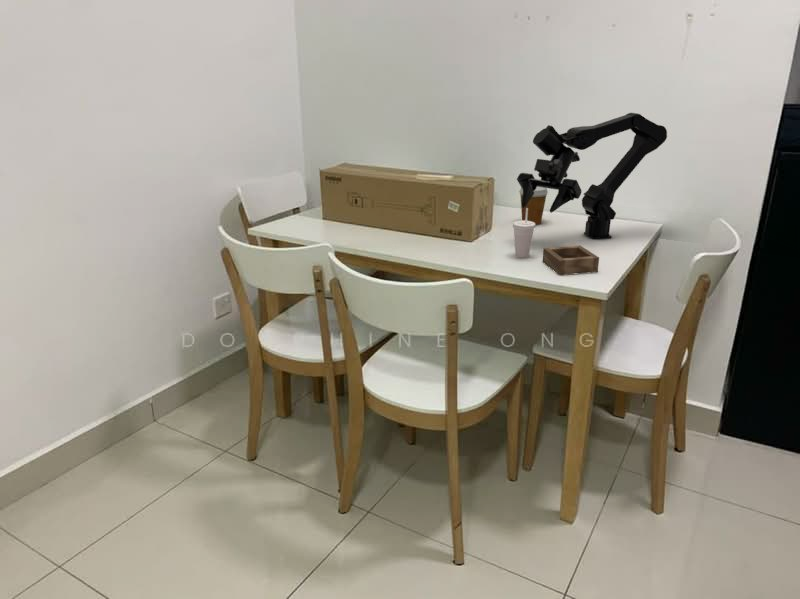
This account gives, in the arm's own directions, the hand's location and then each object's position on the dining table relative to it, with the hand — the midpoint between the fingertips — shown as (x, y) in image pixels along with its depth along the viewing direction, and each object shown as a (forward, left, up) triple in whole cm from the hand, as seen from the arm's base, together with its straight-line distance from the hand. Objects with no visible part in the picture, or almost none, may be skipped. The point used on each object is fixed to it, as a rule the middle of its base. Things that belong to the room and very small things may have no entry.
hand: (536, 209), depth 176 cm
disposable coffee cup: (-11, -29, -13) cm, 33 cm away
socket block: (-4, +16, -12) cm, 21 cm away
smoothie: (+5, +4, -13) cm, 14 cm away
